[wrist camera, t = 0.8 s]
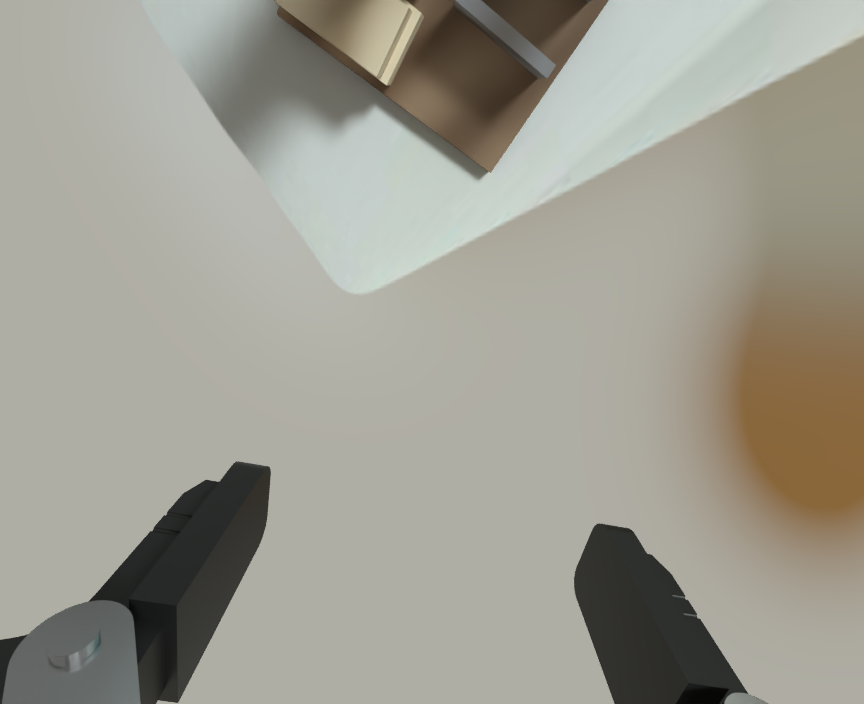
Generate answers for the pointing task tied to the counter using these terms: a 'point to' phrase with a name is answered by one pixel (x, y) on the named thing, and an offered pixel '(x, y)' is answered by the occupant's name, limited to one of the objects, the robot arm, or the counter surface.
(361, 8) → the offcut upper
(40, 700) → the robot arm
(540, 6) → the rack
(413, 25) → the offcut lower
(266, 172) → the counter surface
